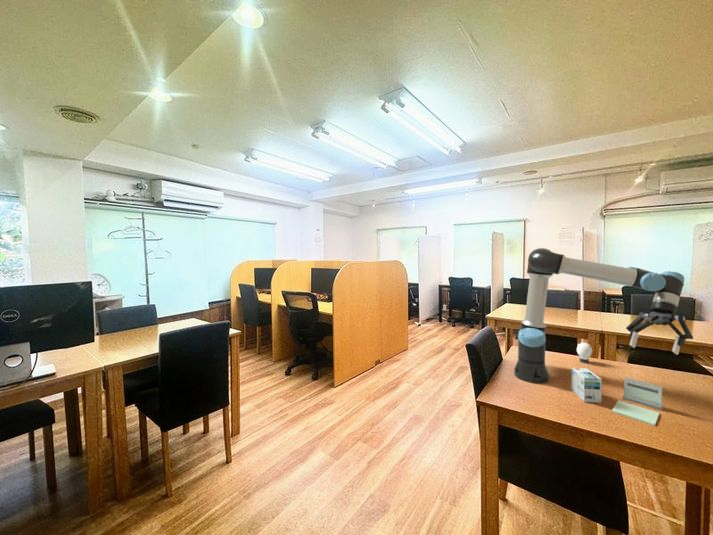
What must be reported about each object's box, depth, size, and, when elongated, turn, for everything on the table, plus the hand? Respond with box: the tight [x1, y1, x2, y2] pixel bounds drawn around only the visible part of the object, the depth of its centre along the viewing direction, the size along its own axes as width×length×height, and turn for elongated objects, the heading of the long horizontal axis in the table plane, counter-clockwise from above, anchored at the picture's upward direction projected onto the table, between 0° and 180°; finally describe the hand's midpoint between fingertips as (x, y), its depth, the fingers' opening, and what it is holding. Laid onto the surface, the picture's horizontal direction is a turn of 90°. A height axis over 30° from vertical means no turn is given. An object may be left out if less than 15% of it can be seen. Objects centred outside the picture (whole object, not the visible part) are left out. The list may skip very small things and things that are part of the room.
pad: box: [611, 400, 660, 426], centre depth 113 cm, size 12×11×1 cm
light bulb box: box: [570, 367, 603, 404], centre depth 126 cm, size 11×7×11 cm, turn 168°
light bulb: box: [576, 342, 593, 364], centre depth 161 cm, size 7×7×11 cm
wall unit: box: [622, 376, 664, 411], centre depth 119 cm, size 12×3×9 cm, turn 38°
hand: (652, 349), depth 119 cm, fingers open, 13 cm apart
